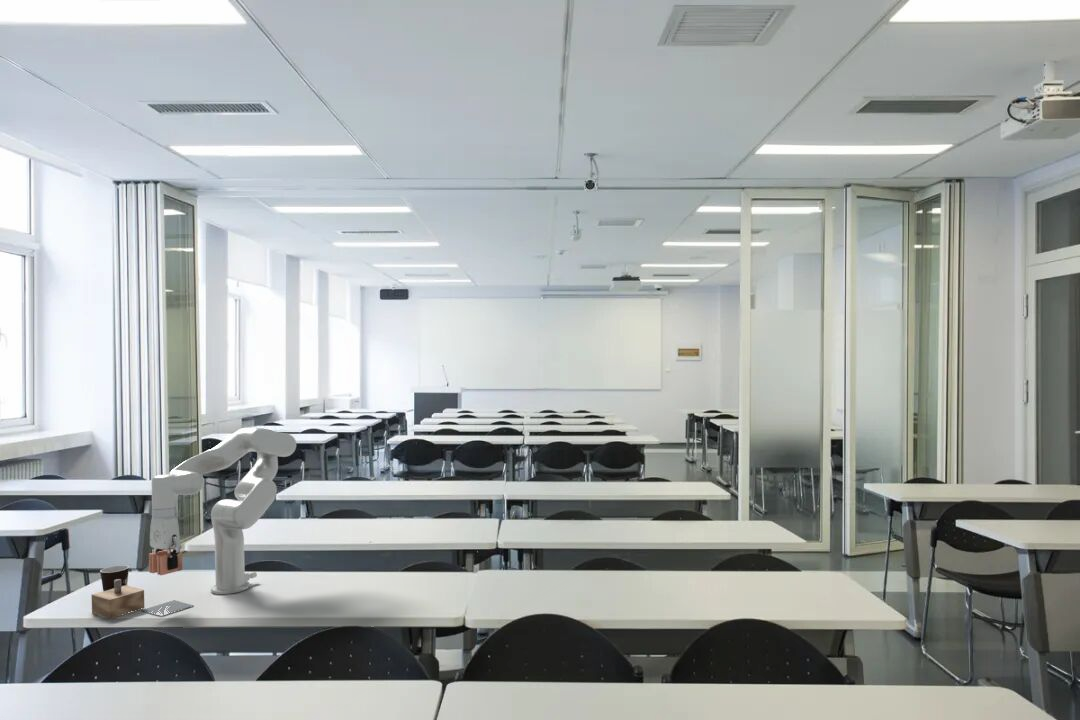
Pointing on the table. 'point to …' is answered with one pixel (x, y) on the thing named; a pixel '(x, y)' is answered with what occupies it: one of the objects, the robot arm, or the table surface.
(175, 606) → the mat
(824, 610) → the table surface
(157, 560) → the c link
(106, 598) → the stand
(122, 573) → the coffee mug
